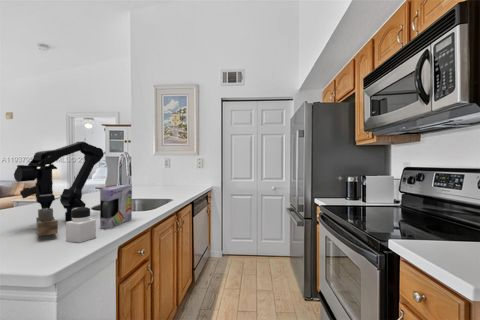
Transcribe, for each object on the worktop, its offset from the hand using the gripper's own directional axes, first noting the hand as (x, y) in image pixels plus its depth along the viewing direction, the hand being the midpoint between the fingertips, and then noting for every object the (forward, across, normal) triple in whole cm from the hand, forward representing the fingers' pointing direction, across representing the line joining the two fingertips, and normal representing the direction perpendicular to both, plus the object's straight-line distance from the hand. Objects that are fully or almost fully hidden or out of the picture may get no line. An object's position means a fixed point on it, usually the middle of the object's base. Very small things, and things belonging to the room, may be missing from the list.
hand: (44, 215), depth 121 cm
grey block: (+2, +6, 0) cm, 7 cm away
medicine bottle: (+6, +30, +10) cm, 32 cm away
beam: (+6, +12, 0) cm, 13 cm away
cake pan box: (+6, +13, +26) cm, 30 cm away
